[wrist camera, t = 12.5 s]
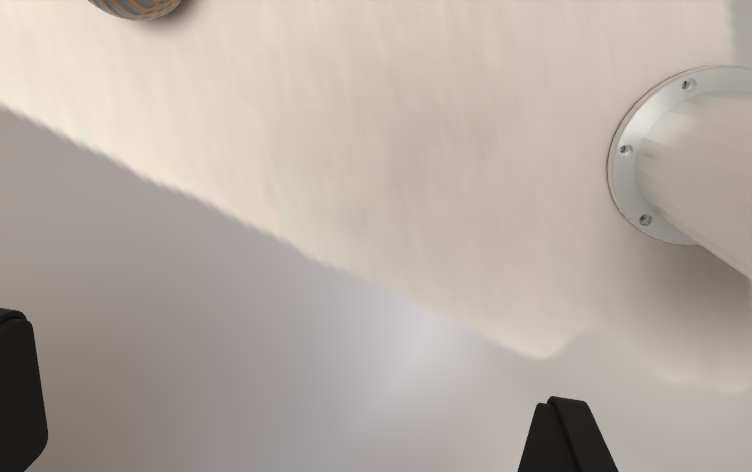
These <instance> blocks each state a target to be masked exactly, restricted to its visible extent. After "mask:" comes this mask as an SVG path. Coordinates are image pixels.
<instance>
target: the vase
mask: <svg viewBox="0 0 752 472" xmlns="http://www.w3.org/2000/svg"><path fill="white" fill-rule="evenodd" d="M88 1H89V2H91V3H92V4H93V5H95V6H96V7H98V8H100V9H101V10H103V11H105V12H107V13H109V14H111V15H114V16H116V17H119V18H123V19H129V20H141V21H142V20H152V19H156V18H159V17H162V16H164V15H166V14H168V13H170V12H171V11H172V10H174V9H175V8H176V7H177V6H178V5H179V4H180V2H181V1H182V0H88Z"/></svg>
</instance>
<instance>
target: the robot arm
mask: <svg viewBox="0 0 752 472" xmlns="http://www.w3.org/2000/svg"><path fill="white" fill-rule="evenodd" d="M684 81H686V86H685V88H683V89H682V85H683V83H684ZM622 146H625V150H624V151H623V152H620V149H621V147H622ZM607 170H608V183H609V187H610V190H611V194H612V197H613V199H614V201H615V203H616V205H617V207H618V208H619V210H620V212H621V213H622V214H623V215H624V216H625V217H626V218H627V219H628V221H629V222H630V223H632V224H633V225H634V226H635V227H636V228H638V229H639V230H640V231H642V232H644V233H646V234H647V235H649V236H651V237H653V238H655V239H658V240H661V241H664V242H667V243H672V244H680V245H701V246H703V247H704V248H705V249H707V250H708V251H710V252H711V253H713V254H714V255H716V256H717V257H718V258H720V259H721V260H723V261H724V262H726V263H727V264H729V265H730V266H732V267H733V268H734V269H736V270H737V271H739V272H740V273H742V274H743V275H745V276H746V277H747V278H749V279H750V280H752V69H749V68H745V67H741V66H725V65H722V66H708V67H701V68H697V69H693V70H689V71H685V72H683V73H681V74H678V75H676V76H674V77H672V78H669V79H667V80H665V81H664V82H662V83H661V84H659V85H658V86H656V87H655V88H653V89H652V90H650V91H649V92H648V93H647V94H646V95H645V96H644V97H642V98H641V99H640V100H639V101H638V102H637V103H636V104H635V105H634V106H633V108H632V109H631V110H630V111H629V113H628V114H627V115H626V117H625V118H624V119H623V121H622V123H621V125H620V127H619V128H618V130H617V132H616V134H615V136H614V139H613V142H612V145H611V148H610V151H609V159H608V166H607ZM643 215H644V217H643V218H642V219H640V218H641V216H643ZM47 440H48V429H47V422H46V415H45V408H44V401H43V395H42V387H41V381H40V374H39V367H38V360H37V353H36V347H35V339H34V333H33V327H32V324H31V323H30V322H29V321H27V319H26V316H25V315H24V314H23V313H22V312H20V311H16V310H10V309H3V308H0V472H24V471H25V470H26V469H27V468H28V467H29V466H30V465H31V464H32V463H33V462H34V461H35V460H36V459H37V458H38V457H39V455H40V454H41V453H42V451H43V450H44V448H45V446H46V443H47ZM518 472H618V469H617V467H616V465H615V463H614V461H613V458H612V456H611V454H610V452H609V450H608V448H607V445H606V443H605V441H604V439H603V437H602V434H601V432H600V430H599V428H598V426H597V424H596V421H595V419H594V417H593V415H592V413H591V410H590V408H589V406H588V405H587V403H586V402H584V401H580V400H573V399H567V398H560V397H554V396H552V397H550V398H549V399H548V401H547V404H544V403H538V405H537V406H536V409H535V412H534V416H533V419H532V423H531V426H530V430H529V433H528V437H527V440H526V444H525V447H524V451H523V455H522V458H521V461H520V465H519V468H518Z"/></svg>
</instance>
